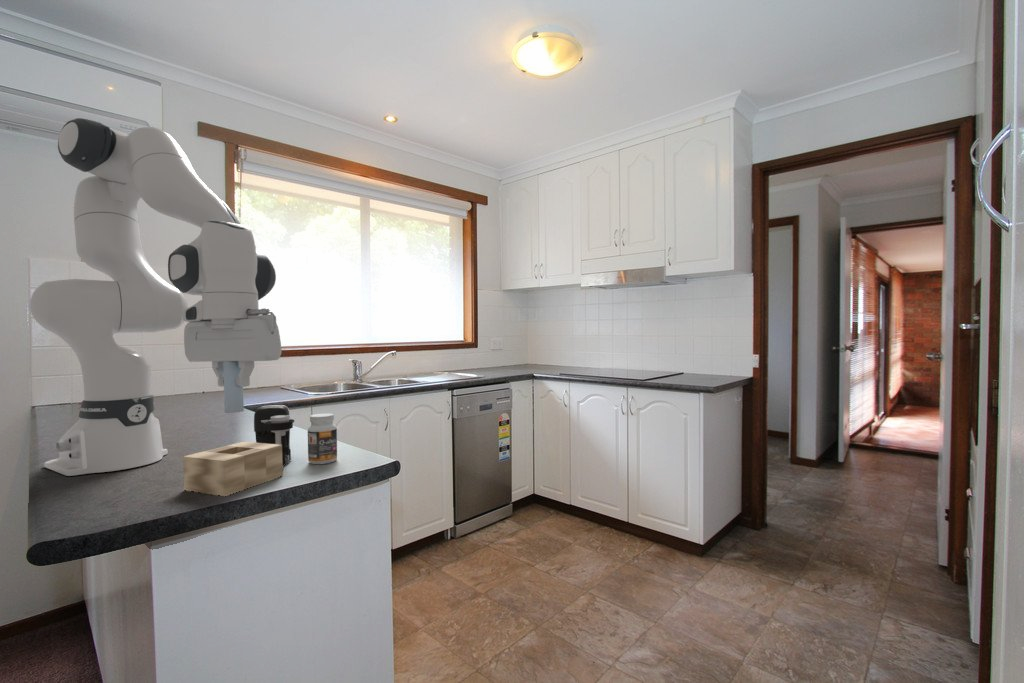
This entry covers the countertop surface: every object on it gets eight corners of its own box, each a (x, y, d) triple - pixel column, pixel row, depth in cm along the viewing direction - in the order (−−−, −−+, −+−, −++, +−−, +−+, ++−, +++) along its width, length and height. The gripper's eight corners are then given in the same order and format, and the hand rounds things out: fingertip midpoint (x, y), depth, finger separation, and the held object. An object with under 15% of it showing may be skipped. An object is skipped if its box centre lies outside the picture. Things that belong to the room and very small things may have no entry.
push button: (288, 468, 97) (287, 419, 97) (260, 470, 96) (259, 420, 96) (298, 460, 103) (297, 413, 103) (272, 461, 103) (271, 414, 102)
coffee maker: (253, 461, 103) (251, 408, 102) (257, 457, 106) (255, 405, 106) (288, 458, 105) (287, 406, 105) (291, 454, 108) (290, 404, 108)
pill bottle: (323, 466, 98) (322, 417, 98) (302, 463, 100) (301, 416, 100) (343, 459, 103) (342, 413, 103) (322, 457, 106) (321, 412, 105)
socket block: (184, 490, 84) (183, 456, 84) (244, 471, 95) (243, 441, 95) (225, 496, 80) (224, 460, 80) (282, 476, 92) (282, 444, 91)
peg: (220, 412, 86) (218, 357, 86) (235, 410, 89) (233, 356, 89) (232, 413, 85) (231, 357, 85) (247, 410, 88) (245, 356, 88)
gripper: (288, 308, 86) (291, 385, 87) (208, 313, 94) (210, 384, 94) (259, 306, 81) (262, 389, 81) (175, 312, 88) (178, 387, 88)
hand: (233, 386), depth 87 cm, fingers closed on peg, 3 cm apart
